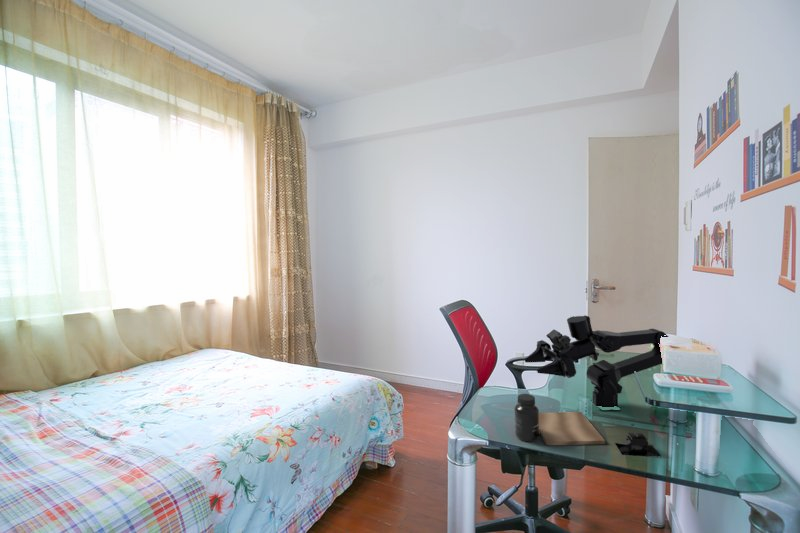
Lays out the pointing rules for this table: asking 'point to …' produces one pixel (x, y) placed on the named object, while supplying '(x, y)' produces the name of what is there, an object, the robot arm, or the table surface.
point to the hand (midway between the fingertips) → (530, 365)
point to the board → (567, 429)
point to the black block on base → (637, 446)
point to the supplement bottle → (526, 418)
